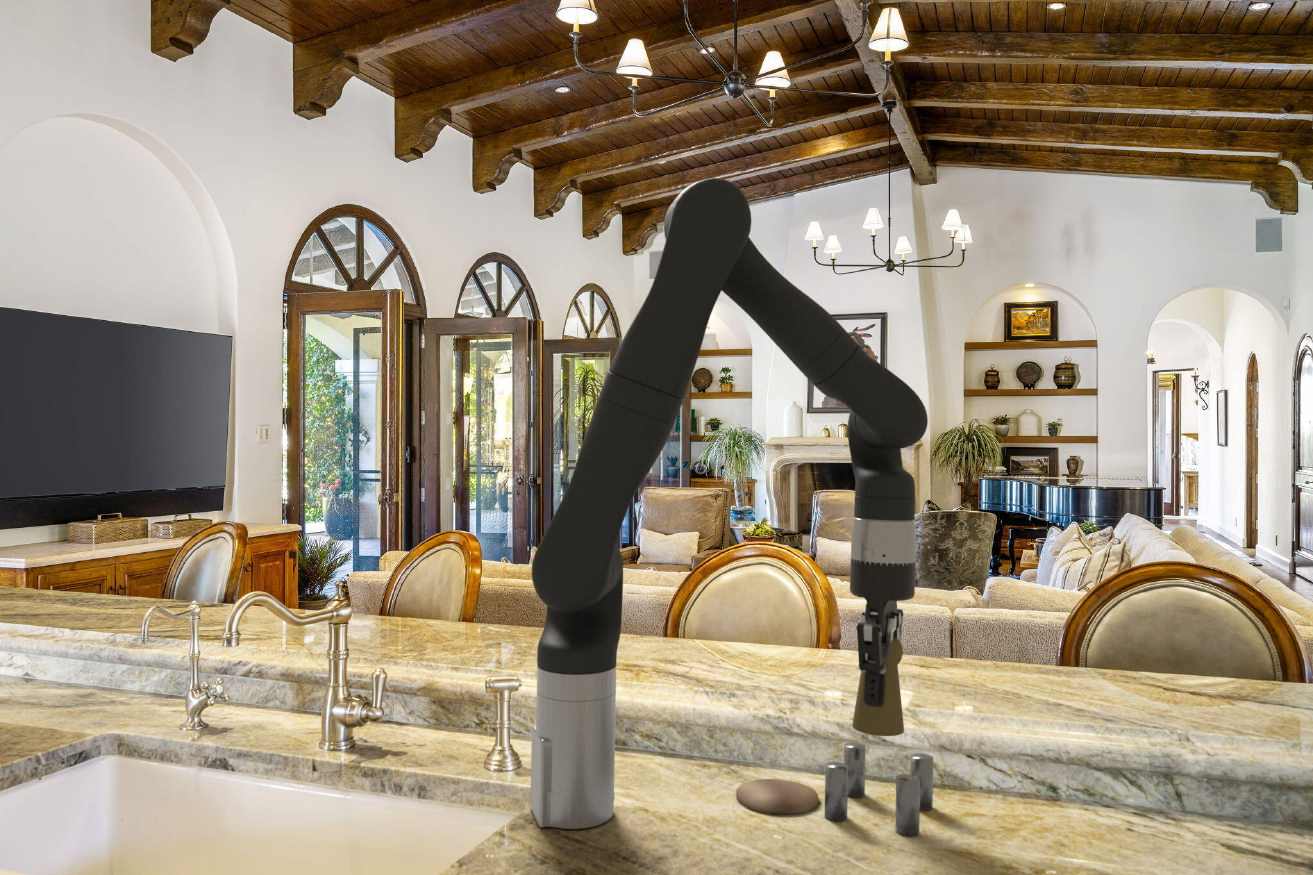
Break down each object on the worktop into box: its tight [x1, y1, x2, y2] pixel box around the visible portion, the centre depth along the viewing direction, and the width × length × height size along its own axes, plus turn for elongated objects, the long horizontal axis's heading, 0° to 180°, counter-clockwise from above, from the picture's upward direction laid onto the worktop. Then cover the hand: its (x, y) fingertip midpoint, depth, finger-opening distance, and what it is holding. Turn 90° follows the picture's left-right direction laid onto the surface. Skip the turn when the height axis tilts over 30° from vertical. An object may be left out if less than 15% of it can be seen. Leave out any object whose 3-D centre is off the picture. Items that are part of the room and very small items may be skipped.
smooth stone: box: [735, 778, 819, 816], centre depth 111 cm, size 10×10×1 cm
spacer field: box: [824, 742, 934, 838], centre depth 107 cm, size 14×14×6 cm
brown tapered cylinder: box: [851, 637, 905, 737], centre depth 108 cm, size 6×6×11 cm
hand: (878, 700), depth 108 cm, fingers closed on brown tapered cylinder, 4 cm apart
